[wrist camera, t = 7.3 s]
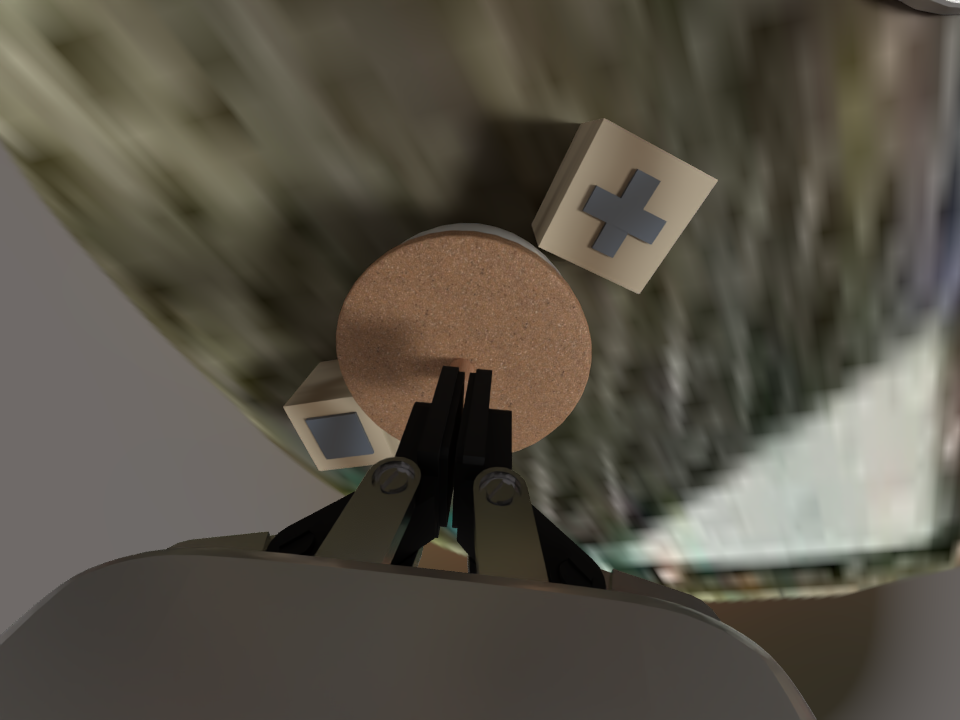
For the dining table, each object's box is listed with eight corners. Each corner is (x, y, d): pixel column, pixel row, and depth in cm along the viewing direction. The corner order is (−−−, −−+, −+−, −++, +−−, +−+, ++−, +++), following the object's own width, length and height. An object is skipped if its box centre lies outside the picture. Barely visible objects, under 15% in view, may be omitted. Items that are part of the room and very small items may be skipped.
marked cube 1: (390, 350, 25) (365, 396, 20) (412, 410, 27) (394, 464, 23) (320, 361, 25) (281, 408, 21) (347, 419, 28) (317, 473, 23)
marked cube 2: (668, 171, 19) (721, 180, 14) (611, 263, 21) (640, 295, 17) (580, 123, 18) (605, 117, 13) (531, 224, 20) (538, 248, 16)
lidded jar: (465, 402, 26) (447, 518, 18) (347, 286, 23) (260, 367, 15) (601, 313, 23) (655, 410, 14) (487, 156, 19) (474, 167, 11)
